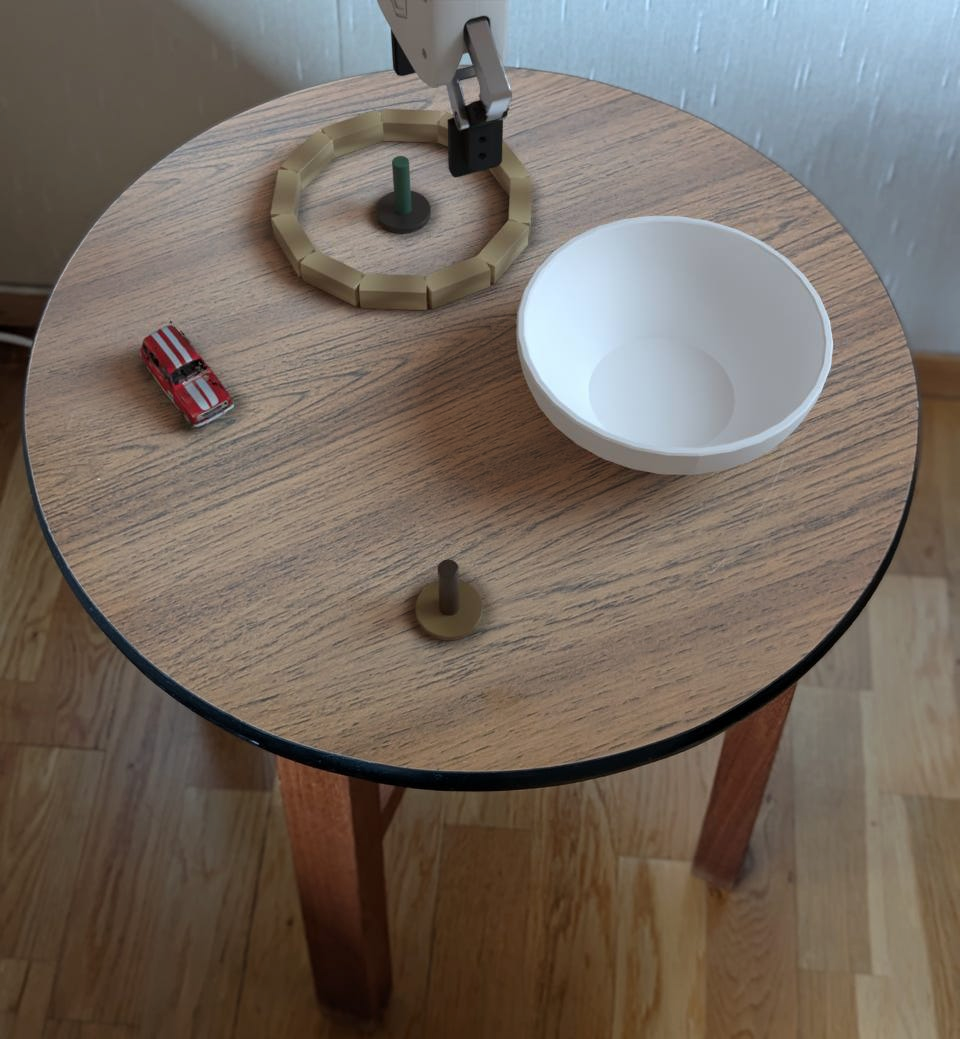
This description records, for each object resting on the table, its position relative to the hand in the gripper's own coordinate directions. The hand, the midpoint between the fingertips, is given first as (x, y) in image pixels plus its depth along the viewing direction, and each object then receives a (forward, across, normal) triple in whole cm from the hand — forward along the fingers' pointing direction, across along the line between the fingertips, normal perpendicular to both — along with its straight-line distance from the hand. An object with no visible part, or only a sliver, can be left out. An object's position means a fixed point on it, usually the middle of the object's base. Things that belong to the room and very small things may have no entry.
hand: (446, 117), depth 82 cm
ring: (+15, -8, -1) cm, 17 cm away
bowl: (+15, +15, +9) cm, 23 cm away
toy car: (+15, +2, -19) cm, 25 cm away
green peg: (+15, -8, -1) cm, 17 cm away
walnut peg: (+15, +24, -9) cm, 30 cm away
